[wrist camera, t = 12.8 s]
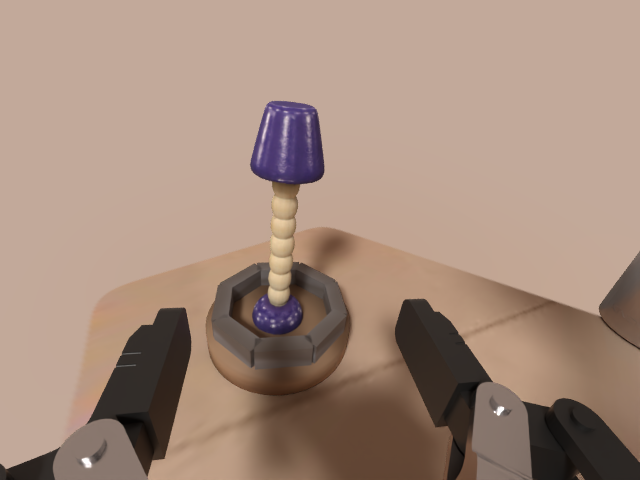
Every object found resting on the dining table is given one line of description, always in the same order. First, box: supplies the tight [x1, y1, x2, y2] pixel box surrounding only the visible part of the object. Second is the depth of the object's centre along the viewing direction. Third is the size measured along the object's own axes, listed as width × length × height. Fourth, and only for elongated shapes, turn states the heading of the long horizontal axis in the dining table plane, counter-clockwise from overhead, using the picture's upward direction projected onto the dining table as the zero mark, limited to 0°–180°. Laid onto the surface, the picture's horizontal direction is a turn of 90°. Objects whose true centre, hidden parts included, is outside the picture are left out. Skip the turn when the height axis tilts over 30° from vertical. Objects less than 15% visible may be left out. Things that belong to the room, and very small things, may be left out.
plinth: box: [206, 262, 350, 395], centre depth 26 cm, size 12×12×4 cm
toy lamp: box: [250, 101, 324, 335], centre depth 22 cm, size 5×5×17 cm
